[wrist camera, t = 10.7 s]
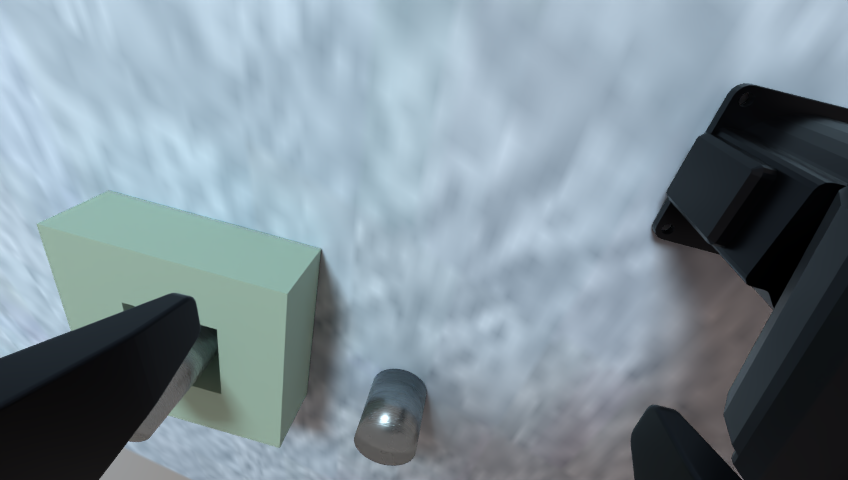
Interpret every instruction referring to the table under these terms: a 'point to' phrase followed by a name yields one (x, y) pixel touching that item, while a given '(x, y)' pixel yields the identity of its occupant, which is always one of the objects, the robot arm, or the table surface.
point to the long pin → (181, 381)
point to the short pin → (391, 418)
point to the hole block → (199, 300)
